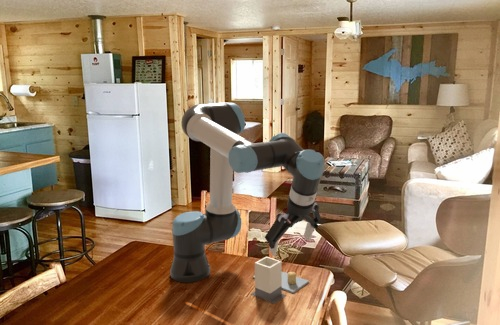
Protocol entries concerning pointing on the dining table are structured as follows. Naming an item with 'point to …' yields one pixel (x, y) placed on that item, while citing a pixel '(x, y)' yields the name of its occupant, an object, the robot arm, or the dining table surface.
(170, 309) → the dining table surface
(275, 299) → the mat
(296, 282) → the pin board
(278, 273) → the sleeve
